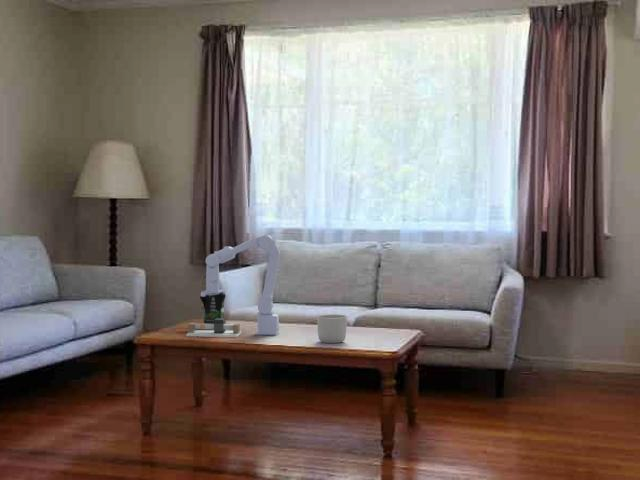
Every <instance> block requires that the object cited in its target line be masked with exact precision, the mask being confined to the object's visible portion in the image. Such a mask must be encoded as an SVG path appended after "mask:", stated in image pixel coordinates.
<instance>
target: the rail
mask: <svg viewBox="0 0 640 480" xmlns="http://www.w3.org/2000/svg"><path fill="white" fill-rule="evenodd" d="M187 329H188V330H187V333H186V335H185V336H186V337H197V336H198V338H199V337H200V338H204V337H206V338H207V337H209V338H216V337H217V338H237V337H239V335H241V334H242V330H241V324H240V323H233V324H232V323H231V324H230V323H225V324H223V330H225V332H224V333H214V324H205V323H204V322H203V323H196V322H190V323H188V325H187Z"/></svg>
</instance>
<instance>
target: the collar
mask: <svg viewBox="0 0 640 480" xmlns="http://www.w3.org/2000/svg"><path fill="white" fill-rule="evenodd" d="M223 324H226V317H224V318H216V319H214V329H213V330H214V333H224V332H225V331H226V330H223Z"/></svg>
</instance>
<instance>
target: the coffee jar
mask: <svg viewBox="0 0 640 480" xmlns="http://www.w3.org/2000/svg"><path fill="white" fill-rule="evenodd" d="M219 290H221V288H219ZM212 294H215V293H212ZM209 297H212V300H211V305H210V312H205V311H204V318H203V323H205V324H214V319H216V318H225V301H226V297H225V298H224V300H223V303H222V306H221V310H220V311H218V310H216V306H215V299H214V296H213V295H210V296H209Z"/></svg>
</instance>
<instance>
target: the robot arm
mask: <svg viewBox="0 0 640 480" xmlns="http://www.w3.org/2000/svg"><path fill="white" fill-rule="evenodd" d="M251 248H260V249H261V250H263V251H264V252H265V253H266V254H267V255H268V257H269V261H268V265H267V271H266V276H265V281H264V287H263V290H262V291H263V292H262V295H261V299H260V301H259V302H258V305H257V309H258V312H257V321H256V322H257V326H256V327H257V328H256V329H257V332H255V335H259V336H261V335H267V336H268V335H269V336H271V335H272V336H276V335H278V334H279V333H280V332H279V331H280V329H279V328H280V326H279V324H280V323H279V321H280V319H279V314H277V313H276V314H275V313H274V311H273V308H274V302H273V298H274V291H275V287H276V280H277V277H278V271H279V266H280V260H281V254H282V253H281V252H280V249H279V247H278V245H277V241H276V240H275V239H274V238H273V237H272V235H269V234H264V235H261V236H258V237H254V238H250V239H248V240H246V241H244V242H243V243H240V244H238V245H236V246H234V247H232V246H224V247H223V248H222V249H220V250H216V251H215V250H214V251H213V252H214V253H210V254H208V256H206V258H205V264H206V273H205V274H206V276H205V278H206V281H205V282H206V283H205V284H206V286H205V288H206V289H205V290H204V291H201V292H200V296H199V299H200V300H201V303H202V305H203V309H204V313H205V312H210V305H211V300H212V297H209V296H210V295H213V296H214V299H215V306H216V310H218V311H220V310H221V306H222V303H223V300H224V298H225V299H226V295H227V294H226V292H225V291H226V290H225V289H221V288H220V270H219V269H220V268H219V267H220V266H219V265H220V264H224V263H227V262H228V261H230V260H233V259H235V258H236V255H237V254H238V253H241V252H244V251H246V250H248V249H249V250H250V249H251ZM219 289H221V290H219ZM212 293H215V294H212ZM224 301H225V300H224Z"/></svg>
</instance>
